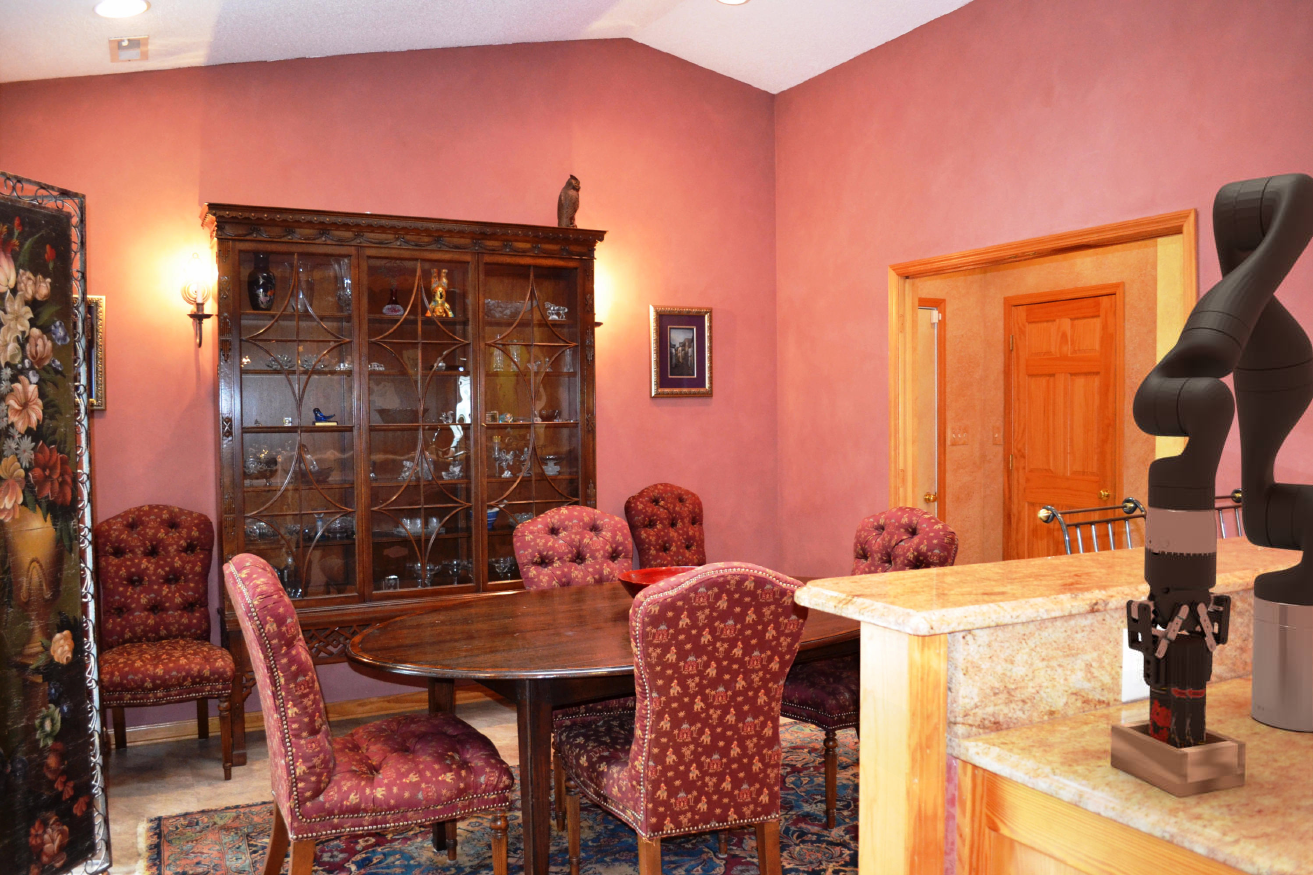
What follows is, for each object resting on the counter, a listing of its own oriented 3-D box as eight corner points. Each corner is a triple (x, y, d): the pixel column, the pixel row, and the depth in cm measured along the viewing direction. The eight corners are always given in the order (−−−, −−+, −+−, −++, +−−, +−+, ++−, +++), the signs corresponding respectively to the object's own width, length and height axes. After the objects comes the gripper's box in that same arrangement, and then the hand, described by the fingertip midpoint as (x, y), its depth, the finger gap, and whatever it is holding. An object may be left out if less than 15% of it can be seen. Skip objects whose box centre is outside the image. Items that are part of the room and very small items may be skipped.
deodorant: (1213, 773, 110) (1214, 646, 109) (1157, 769, 111) (1159, 644, 111) (1194, 753, 116) (1196, 633, 115) (1142, 751, 117) (1143, 631, 116)
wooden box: (1173, 754, 120) (1173, 715, 120) (1244, 784, 110) (1245, 742, 110) (1110, 764, 117) (1111, 724, 116) (1178, 797, 107) (1179, 753, 107)
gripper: (1198, 537, 118) (1196, 669, 119) (1107, 544, 114) (1105, 680, 114) (1254, 546, 111) (1251, 686, 112) (1159, 554, 106) (1156, 699, 107)
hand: (1177, 683), depth 113 cm, fingers open, 6 cm apart
